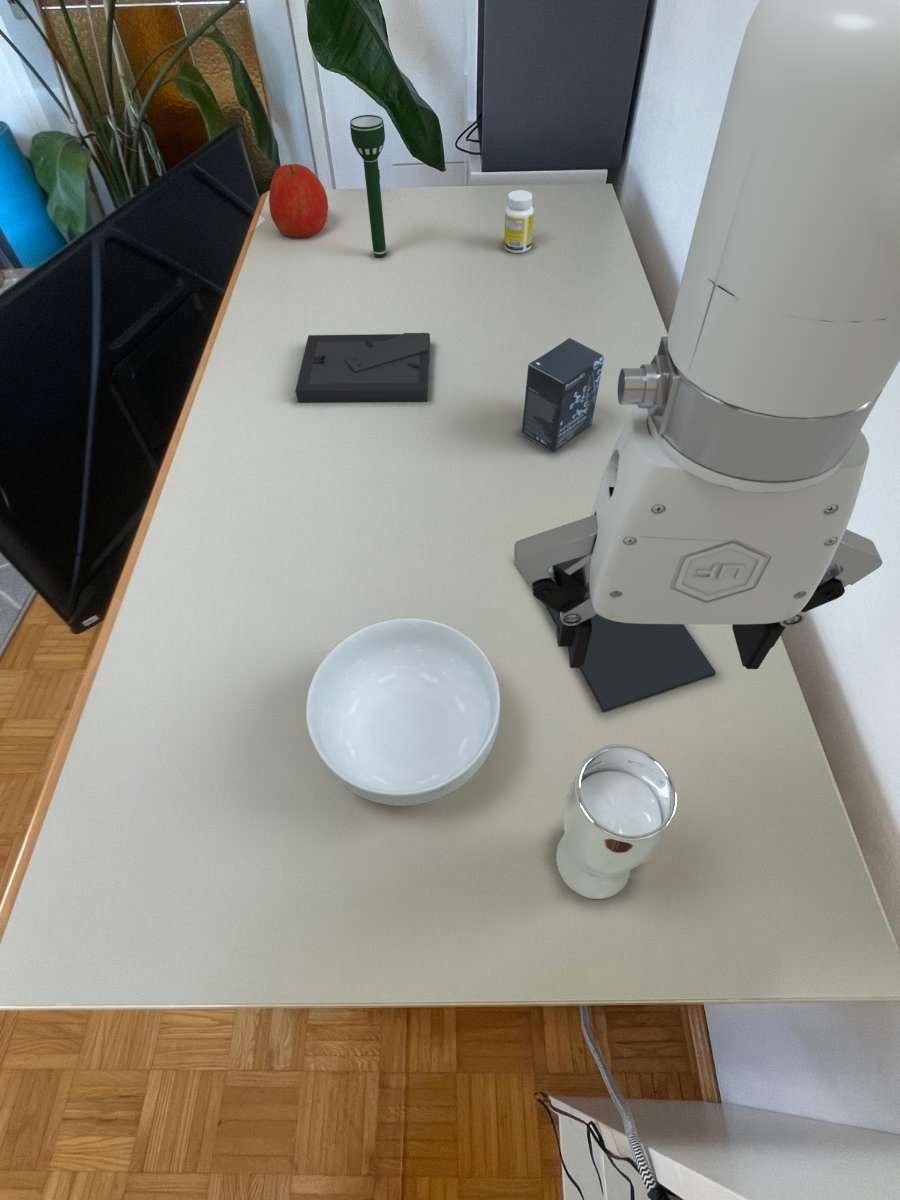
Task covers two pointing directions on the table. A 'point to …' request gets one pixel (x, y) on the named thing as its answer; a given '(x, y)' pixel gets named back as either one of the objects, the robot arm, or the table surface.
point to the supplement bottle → (518, 222)
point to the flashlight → (371, 172)
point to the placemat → (637, 658)
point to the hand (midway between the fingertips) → (658, 647)
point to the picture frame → (365, 368)
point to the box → (561, 394)
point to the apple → (297, 201)
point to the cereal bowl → (403, 711)
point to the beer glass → (613, 819)
